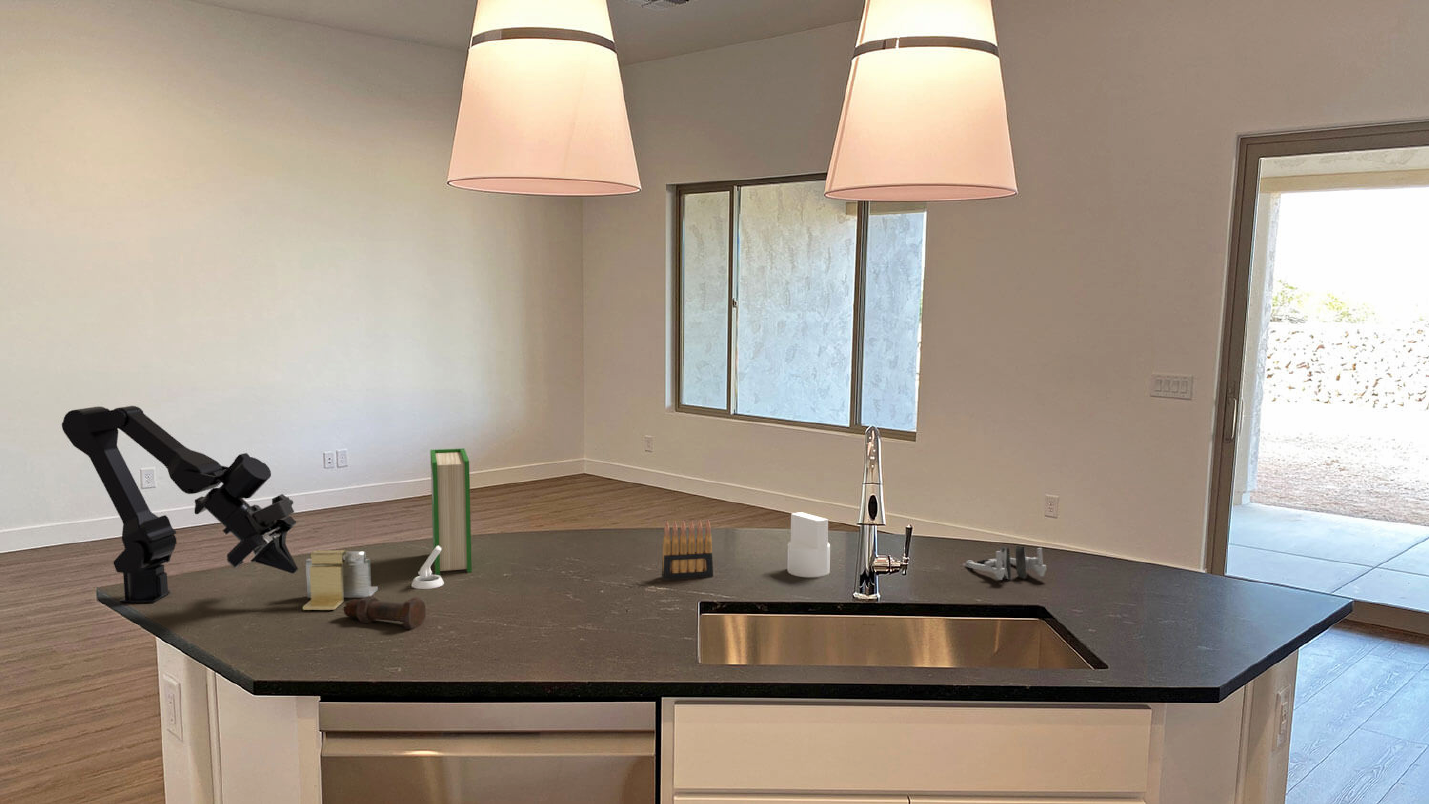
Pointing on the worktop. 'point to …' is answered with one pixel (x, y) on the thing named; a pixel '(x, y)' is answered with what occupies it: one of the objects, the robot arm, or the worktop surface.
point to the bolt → (387, 611)
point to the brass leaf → (326, 580)
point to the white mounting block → (351, 575)
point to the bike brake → (1004, 560)
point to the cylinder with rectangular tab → (808, 546)
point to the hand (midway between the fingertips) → (295, 571)
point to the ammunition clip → (687, 553)
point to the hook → (428, 573)
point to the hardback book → (451, 509)
